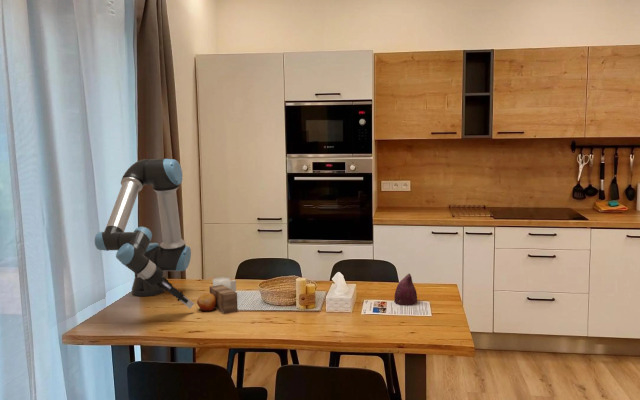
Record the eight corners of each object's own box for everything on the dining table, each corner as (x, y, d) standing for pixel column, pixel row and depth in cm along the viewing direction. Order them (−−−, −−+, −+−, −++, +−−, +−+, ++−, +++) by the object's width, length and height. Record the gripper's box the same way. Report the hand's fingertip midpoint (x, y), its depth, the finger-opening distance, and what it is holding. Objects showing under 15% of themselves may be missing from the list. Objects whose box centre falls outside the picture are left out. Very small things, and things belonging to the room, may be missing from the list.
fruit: (221, 303, 257) (216, 290, 252) (215, 317, 251) (210, 304, 246) (205, 301, 259) (199, 289, 254) (198, 315, 253) (192, 303, 248)
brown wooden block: (210, 304, 260) (209, 286, 259) (222, 302, 263) (222, 284, 262) (224, 313, 247) (223, 295, 246) (237, 311, 250) (236, 292, 249)
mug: (210, 297, 270) (209, 278, 269) (232, 294, 276) (231, 275, 275) (217, 302, 263) (216, 282, 262) (239, 298, 269) (238, 278, 268)
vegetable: (420, 310, 256) (428, 279, 251) (399, 310, 252) (407, 279, 247) (408, 298, 265) (417, 268, 260) (388, 298, 261) (396, 268, 256)
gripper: (139, 277, 242) (180, 309, 253) (148, 283, 231) (191, 316, 242) (151, 262, 244) (191, 295, 255) (161, 268, 233) (203, 302, 244)
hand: (191, 305), depth 248 cm, fingers closed
